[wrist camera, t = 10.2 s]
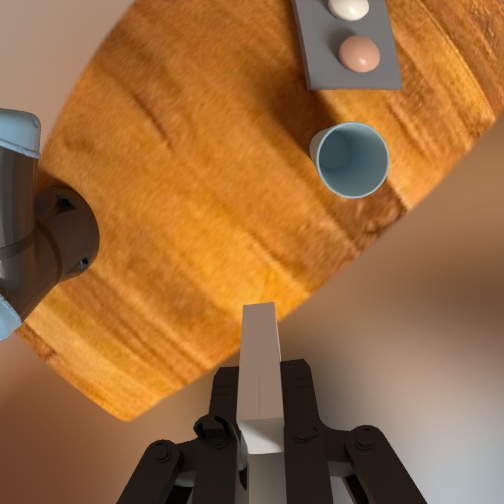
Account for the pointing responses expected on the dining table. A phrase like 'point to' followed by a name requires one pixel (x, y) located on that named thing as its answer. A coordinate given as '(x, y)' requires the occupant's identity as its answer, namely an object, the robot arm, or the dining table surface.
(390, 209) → the dining table surface
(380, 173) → the cup
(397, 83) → the gray rectangular slab
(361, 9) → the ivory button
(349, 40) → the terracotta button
